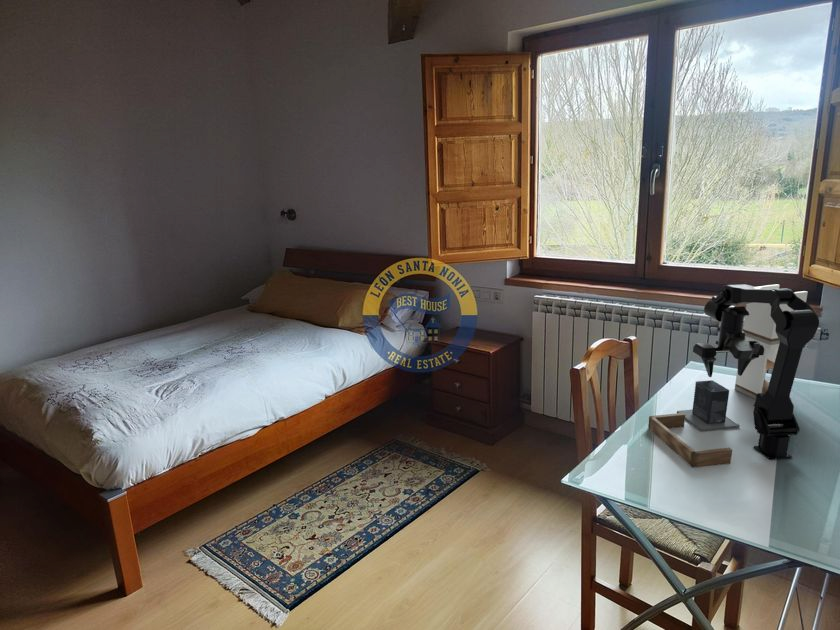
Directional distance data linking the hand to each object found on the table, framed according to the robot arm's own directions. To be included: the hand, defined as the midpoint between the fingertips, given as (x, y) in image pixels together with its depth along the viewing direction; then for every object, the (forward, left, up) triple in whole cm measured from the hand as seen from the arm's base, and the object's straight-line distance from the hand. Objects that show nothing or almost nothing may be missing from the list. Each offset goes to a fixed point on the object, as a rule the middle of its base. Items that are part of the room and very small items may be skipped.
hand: (724, 376), depth 168 cm
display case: (+10, -22, -12) cm, 27 cm away
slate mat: (-4, +7, -12) cm, 14 cm away
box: (-4, +7, -11) cm, 14 cm away
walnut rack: (-16, +21, -12) cm, 29 cm away
